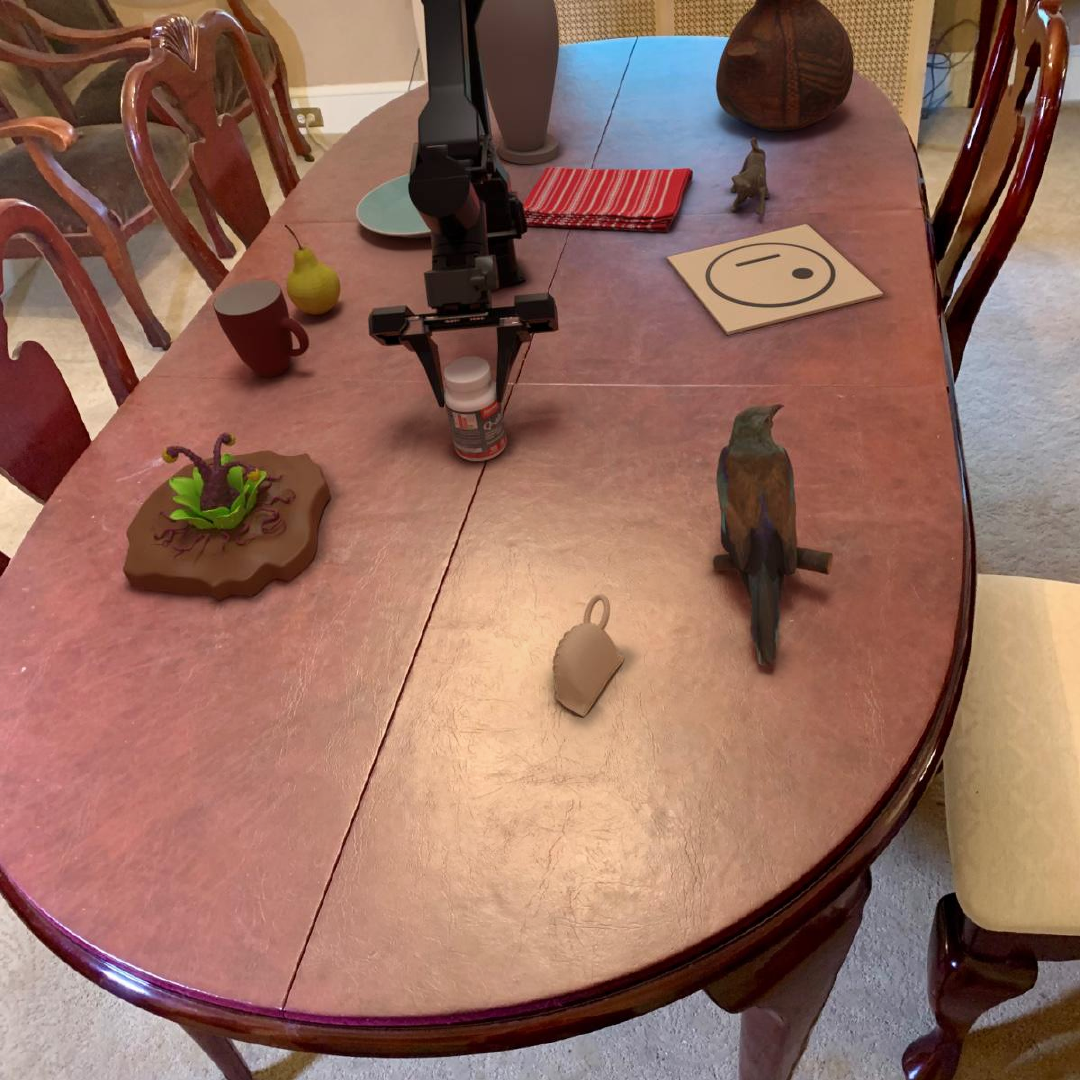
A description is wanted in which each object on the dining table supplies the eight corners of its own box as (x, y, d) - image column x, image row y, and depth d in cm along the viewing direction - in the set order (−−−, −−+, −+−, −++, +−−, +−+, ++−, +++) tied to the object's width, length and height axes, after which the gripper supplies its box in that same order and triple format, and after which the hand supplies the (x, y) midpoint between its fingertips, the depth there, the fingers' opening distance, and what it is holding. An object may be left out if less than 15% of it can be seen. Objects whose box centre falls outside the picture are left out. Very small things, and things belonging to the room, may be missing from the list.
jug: (712, 97, 164) (716, -108, 143) (841, 88, 160) (864, -123, 139) (711, 148, 148) (715, -72, 128) (853, 141, 145) (881, -87, 124)
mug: (333, 352, 118) (311, 280, 111) (307, 390, 112) (282, 317, 105) (258, 349, 120) (232, 278, 113) (229, 386, 115) (200, 314, 108)
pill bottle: (500, 464, 98) (486, 387, 91) (449, 462, 100) (431, 385, 93) (512, 430, 102) (500, 353, 95) (462, 428, 103) (446, 352, 97)
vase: (581, 142, 156) (561, -108, 132) (539, 174, 149) (510, -85, 124) (515, 133, 162) (485, -108, 138) (472, 163, 155) (432, -86, 130)
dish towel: (673, 234, 130) (673, 216, 128) (512, 227, 137) (510, 210, 135) (696, 179, 141) (696, 162, 139) (547, 176, 148) (545, 159, 146)
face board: (666, 260, 125) (666, 255, 124) (806, 227, 127) (806, 221, 127) (726, 335, 111) (727, 329, 110) (882, 296, 113) (883, 290, 112)
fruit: (356, 307, 125) (332, 222, 117) (316, 330, 122) (288, 245, 114) (325, 292, 129) (300, 209, 121) (285, 315, 126) (256, 231, 117)
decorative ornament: (540, 698, 76) (533, 657, 73) (594, 629, 81) (590, 587, 77) (582, 719, 75) (577, 678, 71) (635, 647, 79) (632, 605, 75)
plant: (170, 471, 104) (128, 388, 96) (342, 460, 102) (314, 374, 94) (105, 608, 90) (50, 523, 82) (304, 597, 88) (266, 510, 80)
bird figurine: (842, 670, 74) (847, 416, 70) (715, 669, 76) (712, 421, 71) (821, 617, 87) (824, 400, 82) (713, 618, 89) (710, 405, 84)
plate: (332, 244, 139) (327, 226, 137) (402, 179, 153) (398, 162, 151) (465, 257, 132) (462, 238, 130) (526, 188, 146) (524, 170, 144)
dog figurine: (732, 185, 139) (733, 134, 133) (772, 185, 137) (775, 133, 132) (722, 223, 131) (724, 170, 125) (765, 224, 129) (768, 170, 124)
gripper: (347, 234, 88) (358, 400, 88) (544, 215, 87) (556, 384, 86) (378, 268, 99) (388, 415, 99) (553, 252, 98) (563, 401, 98)
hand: (470, 404), depth 95 cm, fingers closed on pill bottle, 6 cm apart
